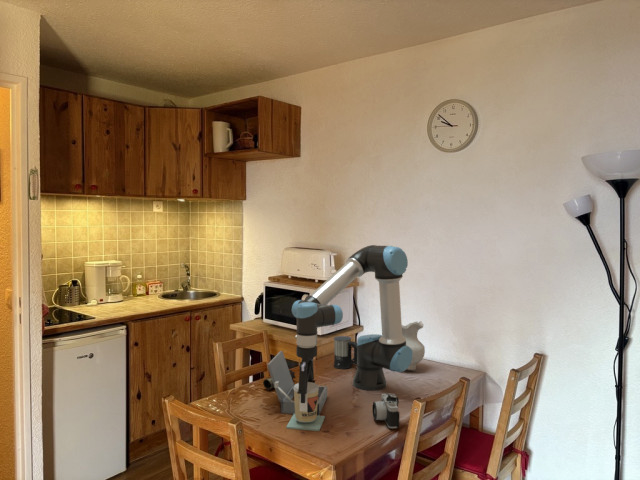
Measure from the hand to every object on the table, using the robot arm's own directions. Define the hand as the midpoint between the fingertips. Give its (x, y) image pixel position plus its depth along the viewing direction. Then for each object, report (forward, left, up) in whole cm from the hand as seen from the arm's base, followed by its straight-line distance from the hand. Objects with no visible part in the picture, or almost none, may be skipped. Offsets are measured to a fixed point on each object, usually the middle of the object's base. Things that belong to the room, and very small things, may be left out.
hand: (306, 405), depth 174 cm
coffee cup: (0, 0, -5) cm, 5 cm away
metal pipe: (+22, -32, -9) cm, 40 cm away
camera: (-29, -8, -7) cm, 30 cm away
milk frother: (-7, -75, -7) cm, 75 cm away
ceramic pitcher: (-35, -76, -7) cm, 84 cm away
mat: (0, 0, -6) cm, 6 cm away
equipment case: (+4, -17, -6) cm, 19 cm away
